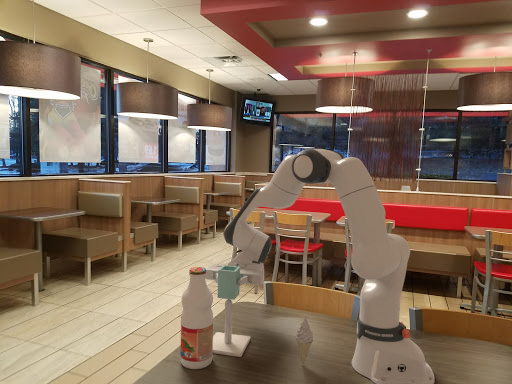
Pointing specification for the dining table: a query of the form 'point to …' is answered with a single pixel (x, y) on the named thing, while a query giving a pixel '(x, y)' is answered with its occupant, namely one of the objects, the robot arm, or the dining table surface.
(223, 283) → the sleeve
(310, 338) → the ice cream cone
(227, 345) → the post stand
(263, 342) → the dining table surface
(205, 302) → the fruit juice
